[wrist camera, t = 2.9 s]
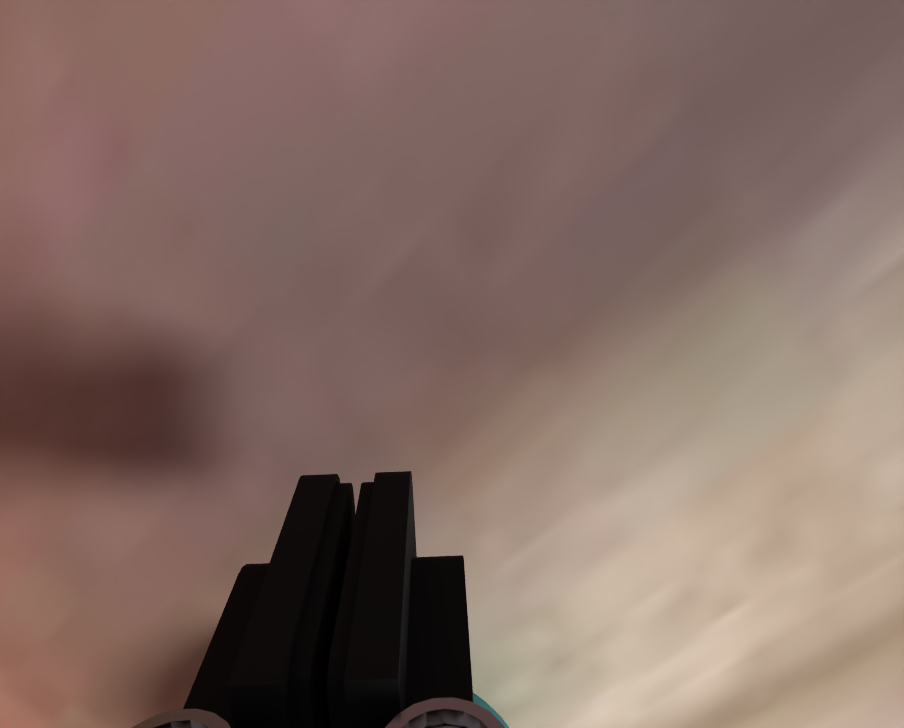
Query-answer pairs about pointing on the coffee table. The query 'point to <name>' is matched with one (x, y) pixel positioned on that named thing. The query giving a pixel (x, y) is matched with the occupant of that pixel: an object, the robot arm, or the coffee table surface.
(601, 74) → the coffee table surface
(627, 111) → the coffee table surface
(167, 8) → the coffee table surface
